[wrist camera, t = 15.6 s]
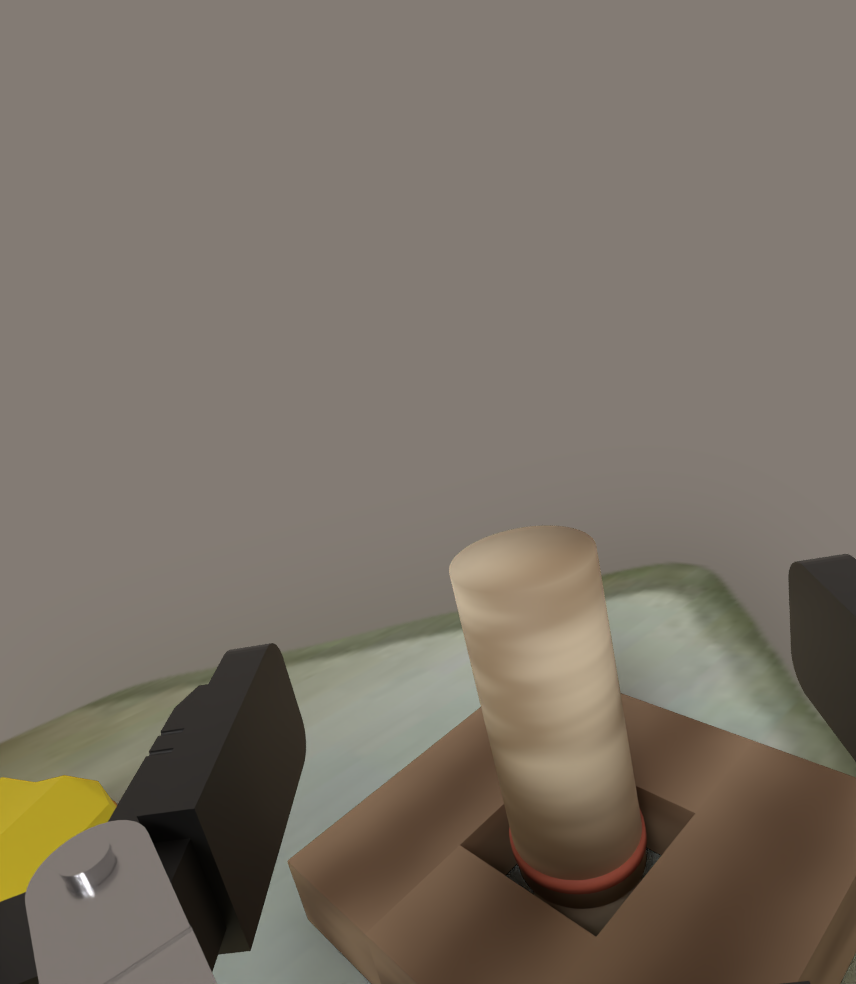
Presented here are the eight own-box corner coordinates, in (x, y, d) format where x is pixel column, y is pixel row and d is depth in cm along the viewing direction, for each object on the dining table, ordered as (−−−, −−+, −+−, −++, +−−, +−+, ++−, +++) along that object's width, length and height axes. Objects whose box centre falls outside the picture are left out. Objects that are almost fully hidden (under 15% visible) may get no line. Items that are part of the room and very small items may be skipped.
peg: (499, 905, 27) (415, 576, 23) (575, 824, 30) (513, 517, 26) (606, 983, 24) (531, 609, 19) (681, 881, 26) (631, 535, 22)
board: (308, 919, 28) (286, 860, 27) (545, 712, 37) (536, 662, 36) (681, 1299, 16) (667, 1218, 16) (901, 861, 25) (900, 793, 24)
